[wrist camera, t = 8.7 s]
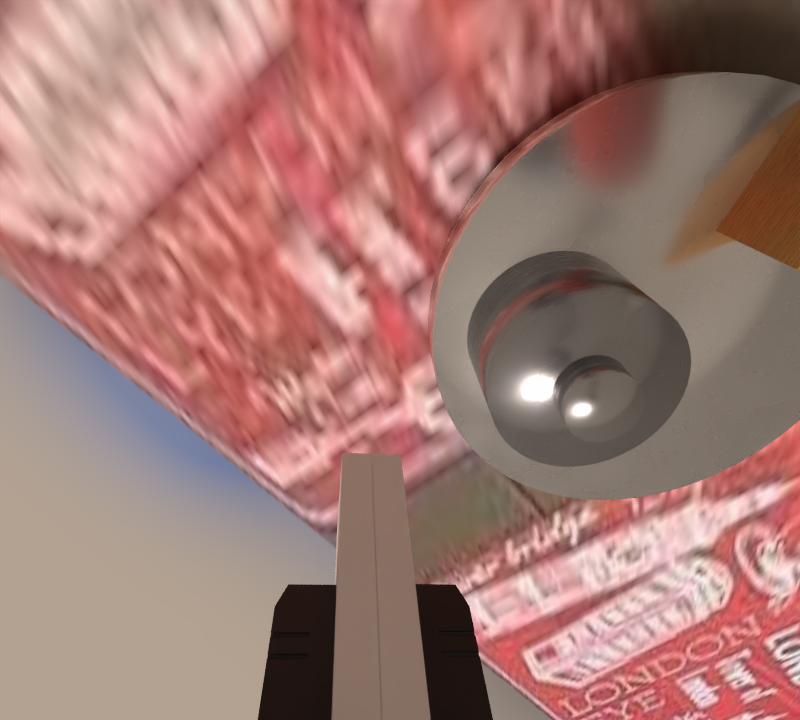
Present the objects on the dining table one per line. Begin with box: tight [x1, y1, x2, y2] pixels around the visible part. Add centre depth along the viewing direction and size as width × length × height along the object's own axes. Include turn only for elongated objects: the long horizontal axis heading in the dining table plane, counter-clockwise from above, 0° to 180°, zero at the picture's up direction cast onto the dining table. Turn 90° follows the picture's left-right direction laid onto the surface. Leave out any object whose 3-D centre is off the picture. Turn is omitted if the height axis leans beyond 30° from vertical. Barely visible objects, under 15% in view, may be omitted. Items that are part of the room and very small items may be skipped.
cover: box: [467, 251, 691, 467], centre depth 23 cm, size 8×8×6 cm
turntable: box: [428, 71, 800, 500], centre depth 25 cm, size 22×22×7 cm
